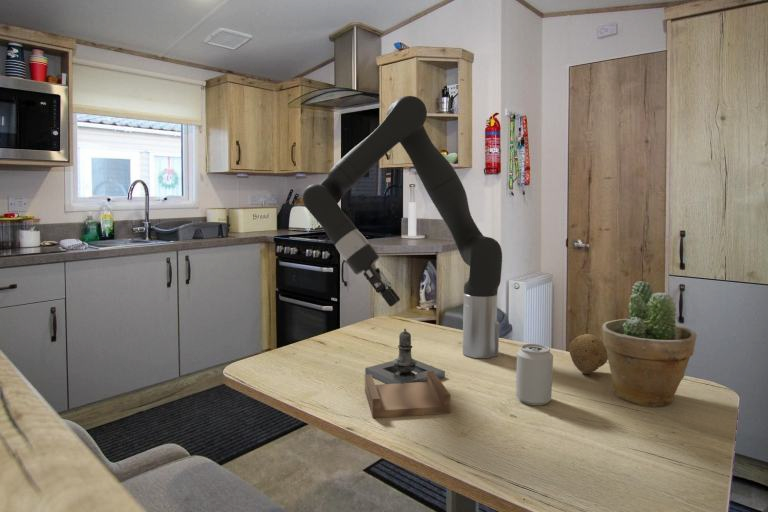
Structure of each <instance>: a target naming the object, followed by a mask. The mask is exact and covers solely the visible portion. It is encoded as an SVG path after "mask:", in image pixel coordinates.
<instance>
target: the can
mask: <svg viewBox="0 0 768 512" xmlns="http://www.w3.org/2000/svg"><path fill="white" fill-rule="evenodd" d="M553 365H554V355H553V354H552V352H551V348H550V347H549V346H546V345H544V344H540V343H524V344H522V345H520V349H519V350H518V351H517V352H516V372H515V373H516V376H515V378H516V379H515V396H516V398H517V399H519V401H521V402H522V403H523V404H526V405H530V406H544V405H546V404H547V403H548V402H551V400H552V390H553V386H552V385H553V368H554V367H553Z"/></svg>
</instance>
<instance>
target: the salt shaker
mask: <svg viewBox="0 0 768 512" xmlns="http://www.w3.org/2000/svg"><path fill="white" fill-rule="evenodd" d="M398 341H399V342H398V346H397V348H398V356H397V358H395V359H393V360H392V361H393V363H394V366H395V368H396V372H395V373H394V374H396V375H398V376H401V377H403V378H404V377H407V376H410V375H414V374H415V372H413V370H414V368H415V365H416V363H417V361H418V360H417V361H416V359H415V358H413V357H412V348H413V345H412V334H411V333H410V332H408V331H407V329H406V328H404V329H403V331H401V333H400V334H399V340H398Z"/></svg>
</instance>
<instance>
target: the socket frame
mask: <svg viewBox="0 0 768 512" xmlns="http://www.w3.org/2000/svg"><path fill="white" fill-rule="evenodd" d="M415 360H416V359H415ZM393 361H394V360H391V361H387V362H383V363H379V364H375V365H372V366H368V367H367V366H366V367H365V370H364V372H365V374H364V375H368V374H371V375H372V377H373V379H377V380H378V381H380V382H382V383H383V384H398V383H400V384H404V383H416V382H427V371H434V373H435V374H436V375H437V377H438V378H439V380H441V379H443V378H446V370H442V369H441V368H438V367H435V366H432V365H431V364H430V365H429V364H427V363H426V362H425V363H424V362H422V361H419V360H416V361H417V363H416V365H415V368H414V370H413V371H414V372H417V373H414V375H410V376H407V377H404V378H403V377H401V376H398V375H396V374H395V373H393V372H397V370H396V368H395V366H394V363H393ZM413 371H412V372H413Z"/></svg>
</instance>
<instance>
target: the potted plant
mask: <svg viewBox="0 0 768 512" xmlns="http://www.w3.org/2000/svg"><path fill="white" fill-rule="evenodd" d="M631 288H632V289H631V292H632V293H631V295H630V296H629V303H628V310H629V311H628V312H629V314H628V318H620V319H613V320H609V321H606V322H604V323H603V324H602V327H601V329H602V338H603V339H602V342H603V345H604V346H605V347H606V350H607V356H608V359H607V362H608V365H609V370H610V374H611V378H612V379H611V380H612V382H613V388H614V391H615V394H616V395H617V397H619V398H620V399H621V400H624V401H626V402H628V403H632V404H634V405H639V406H641V407H642V406H643V407H651V408H656V407H666V406H669V405H670V404H671V403H672V402H673V400H674V397H675V395H676V392H677V390H678V387H679V386H680V383H681V381H682V380H683V378H684V377H685V372H686V370H687V367H688V364H689V361H690V358H691V357H692V356H693V355H694V350H695V345H696V342H697V341H696V340H697V336H698V335H697V333H696V332H694V331H693V330H692V329H691V328H688V327H685V326H683V325H680V324H676V315H677V313H676V311H677V307H676V301H675V300H674V297H672V296H671V294H668V293H666V292H653V288H652V285H651V284H650V283H649V282H647V281H640V280H639V281H636V282H634V284H633V285H632V287H631Z"/></svg>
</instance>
